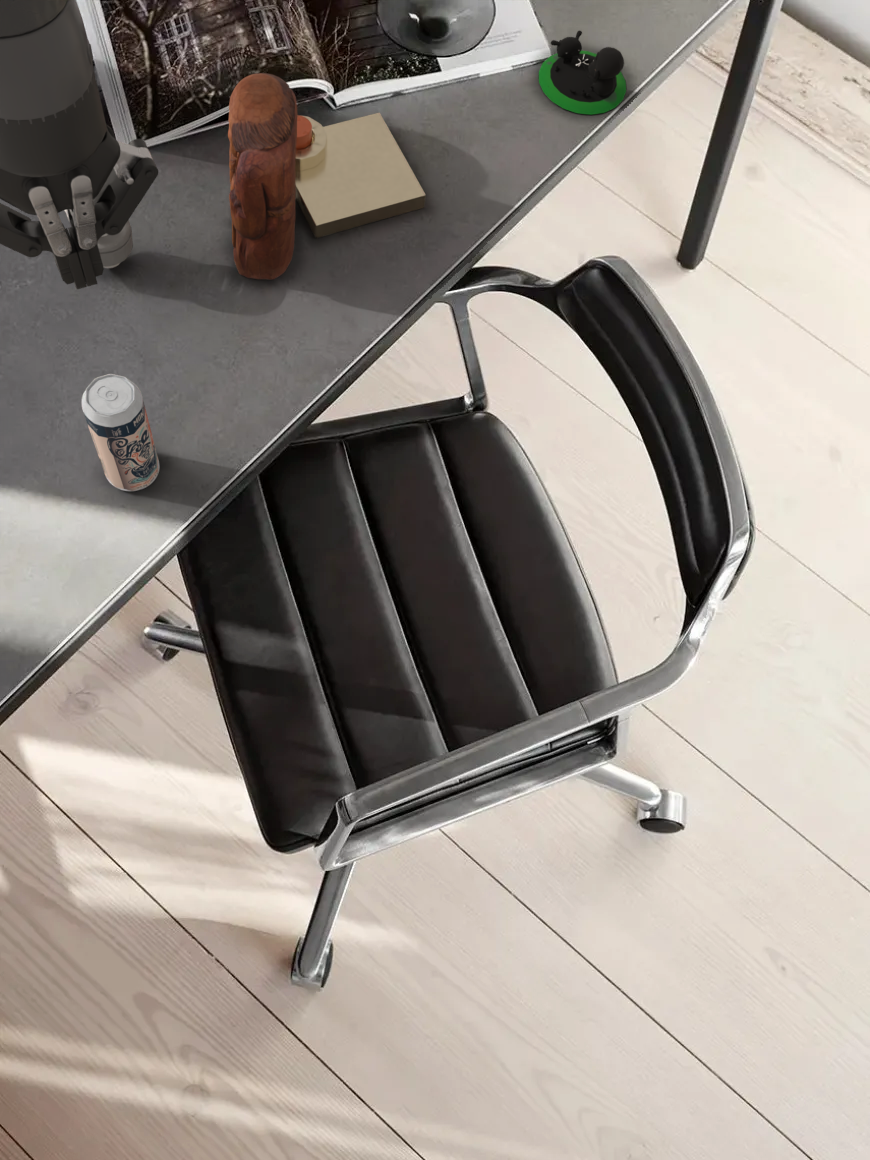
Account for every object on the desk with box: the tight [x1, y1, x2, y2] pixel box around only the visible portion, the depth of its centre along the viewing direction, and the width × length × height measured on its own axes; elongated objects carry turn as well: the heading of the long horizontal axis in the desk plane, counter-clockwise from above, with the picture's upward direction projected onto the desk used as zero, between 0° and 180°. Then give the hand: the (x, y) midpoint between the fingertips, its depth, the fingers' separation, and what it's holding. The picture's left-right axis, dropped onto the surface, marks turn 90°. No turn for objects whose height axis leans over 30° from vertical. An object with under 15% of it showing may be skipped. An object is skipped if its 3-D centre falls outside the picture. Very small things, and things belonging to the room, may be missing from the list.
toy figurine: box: [538, 30, 627, 116], centre depth 123 cm, size 10×10×6 cm
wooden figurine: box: [227, 72, 298, 280], centre depth 104 cm, size 12×6×18 cm, turn 179°
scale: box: [295, 112, 427, 239], centre depth 115 cm, size 13×13×4 cm
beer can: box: [81, 373, 160, 492], centre depth 95 cm, size 5×5×12 cm
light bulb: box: [63, 199, 134, 269], centre depth 104 cm, size 6×6×12 cm
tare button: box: [296, 114, 312, 150], centre depth 113 cm, size 3×3×2 cm
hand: (82, 277), depth 77 cm, fingers closed
